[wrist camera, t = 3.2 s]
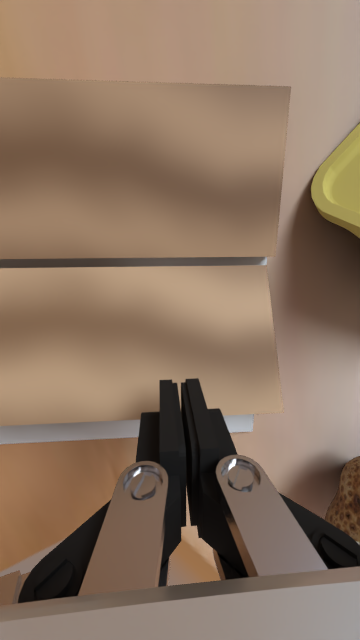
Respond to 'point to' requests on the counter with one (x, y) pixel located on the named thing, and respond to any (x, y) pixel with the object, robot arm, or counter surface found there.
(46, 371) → the plank
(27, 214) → the laid floor
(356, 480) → the natural sponge
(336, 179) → the plastic component
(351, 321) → the counter surface
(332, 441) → the counter surface
